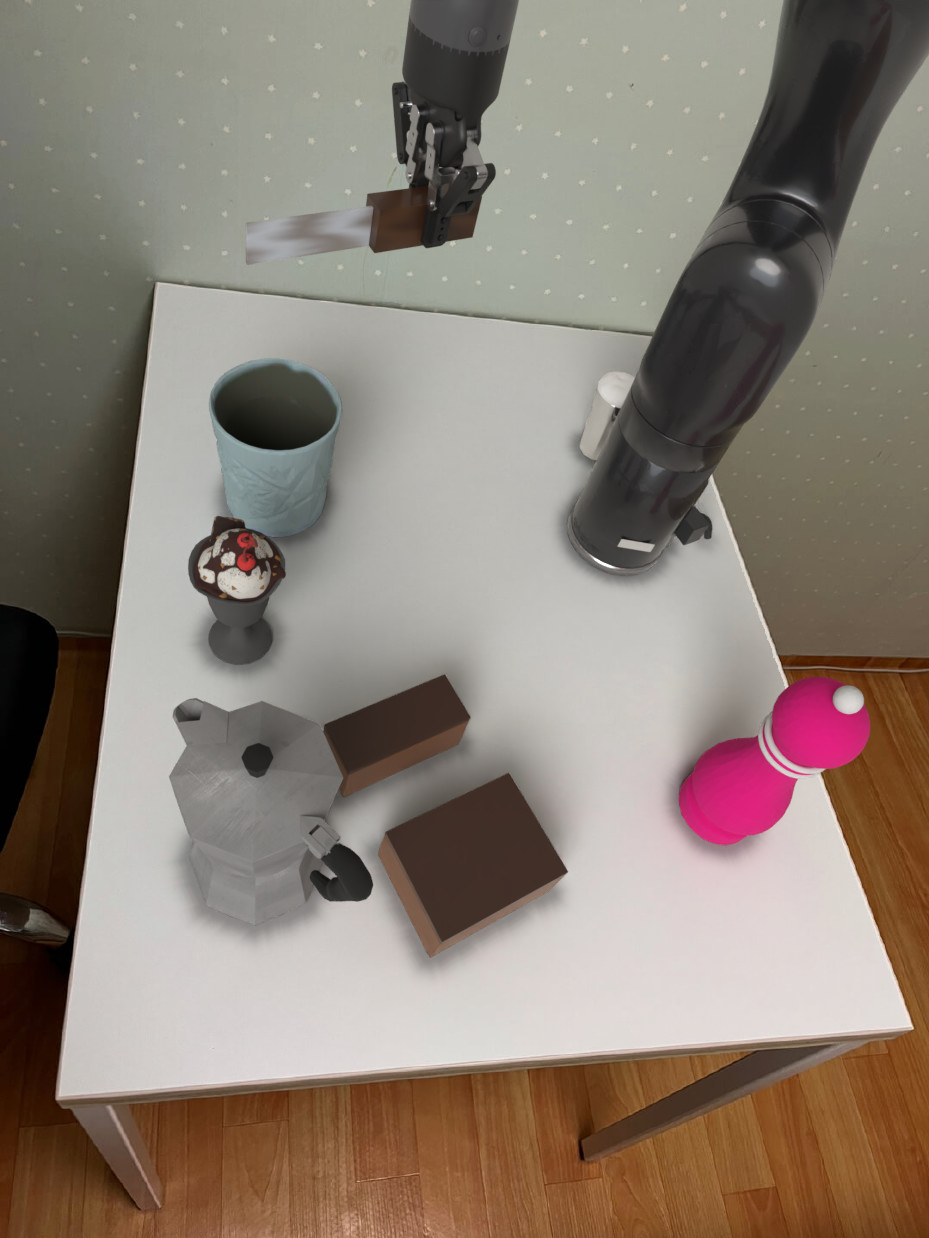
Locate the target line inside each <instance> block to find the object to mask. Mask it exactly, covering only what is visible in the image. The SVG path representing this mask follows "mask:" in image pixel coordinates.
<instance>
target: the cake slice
mask: <svg viewBox="0 0 929 1238" xmlns="http://www.w3.org/2000/svg"><path fill="white" fill-rule="evenodd" d="M470 720H471V715H470V714H469V711H468V710H467V708H466V707H465V705H464V702H463V701H462V700H461V698H460V697H459V695H458V694H457V692H456V690H455V688H454V686H453V684H452V683H451V682H450V680H449V678H448V677H447V675H446V674H445V673H443V674H441V675H439V676H436V677H433V678H432V679H429V680H427V681H424V682H422V683H420V684H417V685H415V686H412V687H409V688H407V689H406V690H403V691H401V692H398V693H396V694H394V695H390V696H389V697H387V698H384V699H381V700H379V701H377V702H374V703H372V704H370V705H367V706H365V707H362V708H360V709H358V710H355V711H353V712H350V713H348V714H346V715H344V716H343V715H342V716H340V717H338V718H335V719H334V720H331V721H329V722H326V723H325V724H324V725H323V729H322V730H323V732H324V735H325V737H326V739H327V741H328V744H329V746H330V748H331V751H332V753H333V755H334V757H335V760H336V762H337V764H338V767H339V769H340V771H341V773H342V776H343V780H342V782H341V784H340V787H339V789H338V791H339V792H340V794H341V796H342V797H343V798H346V797H348V796H350V795H352V794H355V793H357V792H358V791H361V790H364V789H366V788H367V787H369V786H372V785H374V784H377V783H378V782H380V781H382V780H385V779H387V778H389V777H391V776H393V775H396V774H398V773H400V772H402V771H404V770H406V769H408V768H411V767H413V766H415V765H418V764H419V763H421V762H423V761H426V760H428V759H430V758H432V757H436V756H437V755H439V754H442V753H443V752H445V751H447V750H450V749H452V748H454V747H457V746H459V744H460V742H461V740H462V738H463V735H464V734H465V731H466V730H467V727H468V724H469V723H470Z"/></svg>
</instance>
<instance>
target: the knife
mask: <svg viewBox="0 0 929 1238" xmlns="http://www.w3.org/2000/svg"><path fill="white" fill-rule="evenodd" d="M428 188H429V186H423V187H415V188H409V187H408V188H401V189H393V190H385V191H378V192H377V191H376V192H370V193H367V194H366V202H365V206H358V207H352V208H345V209H337V210H329V211H322V212H314V213H309V214H308V213H307V214H300V215H293V216H286V217H285V216H284V217H280V218H279V217H278V218H271V219H264V220H263V219H262V220H256V221H249V222H245V264H246V265H247V266H251V265H256V264H257V265H258V264H262V263H269V262H275V261H276V262H277V261H281V260H282V261H283V260H289V259H294V258H301V257H307V256H313V255H320V254H326V253H332V252H333V253H334V252H339V251H345V250H353V249H358V248H365V247H369V248H370V249H371V251H372V253H373V254H380V253H386V252H392V251H398V250H403V249H410V248H416V247H422V246H423V244H422V243H421V241H420V240H421V234H422V228H423V222H424V217H425V211H426V206H428V205H427V198H428ZM448 188H449V183H447V184H443V185H442V187H441V193H440V194H443V193H446V192H447V191H448ZM482 200H483V195H482V196H481V198H480V199H479V200H478V202H477V203H476V205H475V206H474V207H473V209H472V210H471V211H470V213H466V214H460V215H454V216H451V221H450V226H449V229H448V230H449V231H448V236H447V240H446V242H445V243H447V242H453V241H460V240H466V239H472V238H473V237H474V234H475V229H476V224H477V220H478V216H479V212H480V208H481V204H482ZM423 247H424V246H423Z"/></svg>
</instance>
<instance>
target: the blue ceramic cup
mask: <svg viewBox="0 0 929 1238" xmlns="http://www.w3.org/2000/svg"><path fill="white" fill-rule="evenodd" d="M208 411H209V415H210V420H211V424H212V429H213V434H214V437H215V439H216V449H217V454H218V457H219V463H220V465H221V466H220V467H221V468H220V470H221V475H222V478H223V487H224V488H223V489H224V493H225V499H226V504H227V507H228V509H229V511H230V513H231V514H232V516H233V518H236V519H242V520H244V523H245V527H246V528H248V529H253V530H256V531H258V532H261V533H263V534H264V535H266V536H267V537H269V538H270V537H271V538H284V537H291V536H294V535H297V534H301V533H302V532H305V531H306V530H308V529H309V528H311V527H312V526H313V525H314V524H315V523H316V522H317V520H318V519H319V518H320V516H321V515H322V514H323V510H324V507H325V503H326V496H327V491H328V486H327V483H328V482H329V478H330V476H331V469H332V466H333V456H334V451H335V445H336V441H337V437H338V433H339V429H340V425H341V422H342V421H341V420H342V416H343V402H342V398H341V395H340V393H339V391H338V389H337V388H336V387H335V385H334V384H333V383H332V382H331V381H330V380H329V379H328V378H327V377H326V376H325V375H324V374H323V373H322V372H320V371H318V370H316V369H315V368H312V367H311V366H309V365H307V364H304V363H301V362H299V361H295V360H291V359H284V358H259V359H253V360H249V361H246V362H243V363H241V364H239V365H237V366H234V367H232V368H231V369H229V370H227V371H226V372H224V373H223V374H222V375H221V376H220V377H218V379H217V380H216V382H215V383H214V384H213V387H212V389H211V391H210V395H209V399H208Z"/></svg>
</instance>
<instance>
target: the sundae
mask: <svg viewBox="0 0 929 1238" xmlns="http://www.w3.org/2000/svg"><path fill="white" fill-rule="evenodd" d="M187 561H188V563H187V573H188V575H187V576H188V578H189V581H190V584H191V585H192V586H193V588H194V589H195V590H196V591H197V592H198V593H199V594H201V595H202V596H204V597H206V600H207V602H208V605H209V607H210V609H211V611H212V613H213V615H214V616H215V618H216V621H214V623H213V624H212V625H211V627H210V629H209V631H208V638H207V639H208V647H209V648H210V650H211V652H212V654H213V655H215V657H217V658H218V659H220V661H223V663H227V664H231V665H235V666H236V665H237V666H240V665H241V666H242V665H249V664H252V663H255V662H258V661H259V660H261V659H262V658H263V657H264V656H265V655H266V654H267V653H268V652H269V651H270V648H271V646H272V643H273V633H272V629H271V627H270V626H269V624H268V622H267V621H266V620H265V619H263V618H262V617H263V615H264V613H265V611H266V609H267V608H268V604H269V602H270V597H271V596H272V595H273V594H274V593H275V591H277V589H278V588H279V586H280V585H281V582H282V580H284V579H285V578H286V576H287V572H286V559H285V555H284V554H283V552H282V551H281V549H280V547H279V546H278V545H277V544H276V542H275V541H274V540H272V539H271V538H270V536H266V535H264V534H263V533H261V532H258V531H256V530H253V529H248V528H246V527H245V523H244V520H242V519H236V518H234V517H229V516H222V515H217V516H214V519H213V523H212V527H211V532H210V535H207V536H205V537H204V538H202V539H201V540H200V541H198V542H197V543H196V544H195V545H194V547H193V548H192V550H191V552H190V555H189V557H188V560H187Z"/></svg>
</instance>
